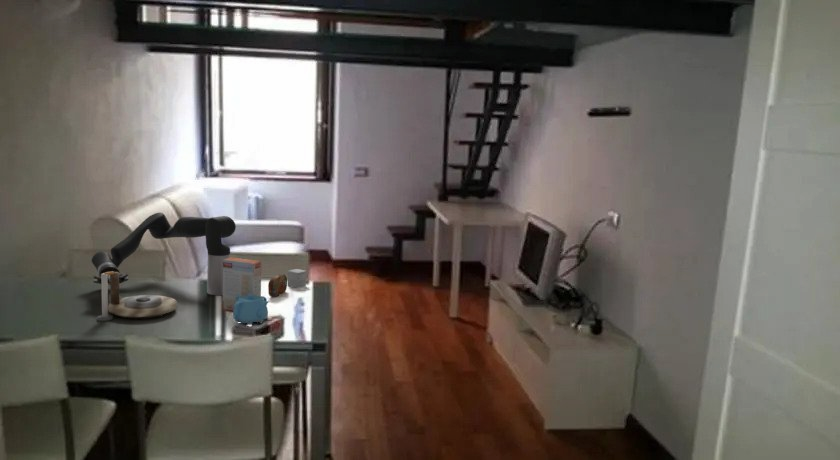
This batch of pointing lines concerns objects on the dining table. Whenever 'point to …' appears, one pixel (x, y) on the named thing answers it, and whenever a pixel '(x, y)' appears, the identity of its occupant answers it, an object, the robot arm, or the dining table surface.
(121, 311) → the turntable
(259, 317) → the teapot
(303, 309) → the dining table surface
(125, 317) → the turntable base
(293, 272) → the grey rounded block
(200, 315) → the dining table surface
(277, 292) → the brown rounded slab
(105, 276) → the post
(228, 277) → the cracker box
